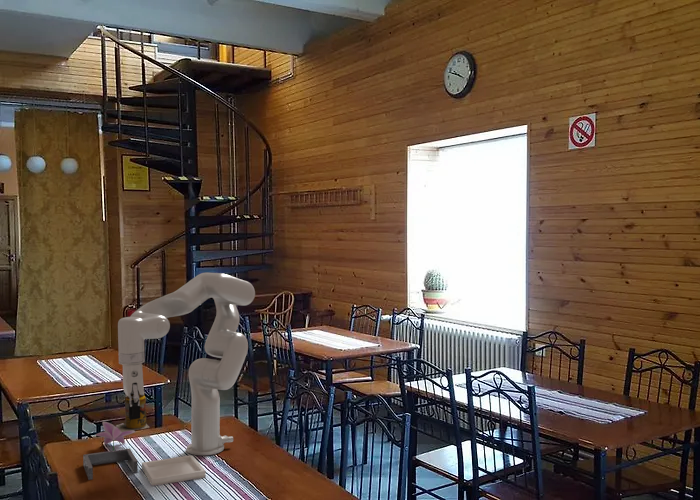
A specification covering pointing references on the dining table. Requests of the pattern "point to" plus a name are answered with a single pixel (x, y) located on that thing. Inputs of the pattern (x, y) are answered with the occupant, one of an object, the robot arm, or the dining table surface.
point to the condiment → (134, 423)
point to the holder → (109, 460)
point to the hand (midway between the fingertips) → (132, 415)
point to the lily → (113, 433)
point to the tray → (173, 470)
